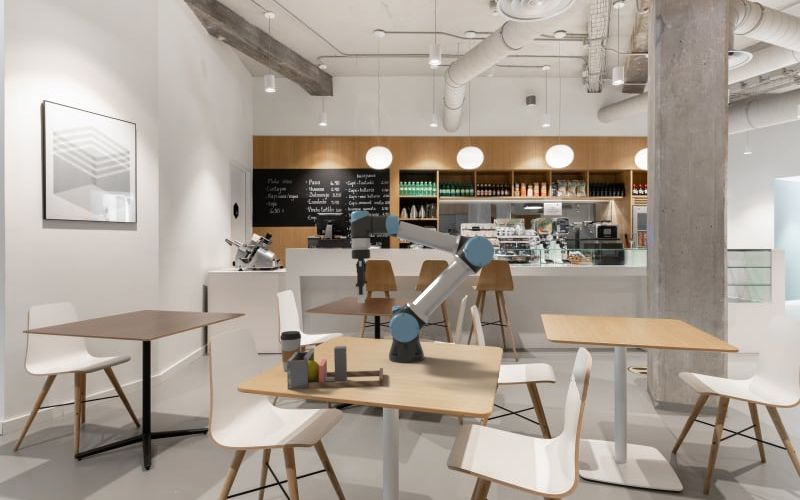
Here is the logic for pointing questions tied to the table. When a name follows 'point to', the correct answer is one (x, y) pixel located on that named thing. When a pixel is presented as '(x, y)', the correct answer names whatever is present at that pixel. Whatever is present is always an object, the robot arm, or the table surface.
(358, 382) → the lane rails
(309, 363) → the lemon
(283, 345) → the coffee cup
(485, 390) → the table surface
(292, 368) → the grey open bin
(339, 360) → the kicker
